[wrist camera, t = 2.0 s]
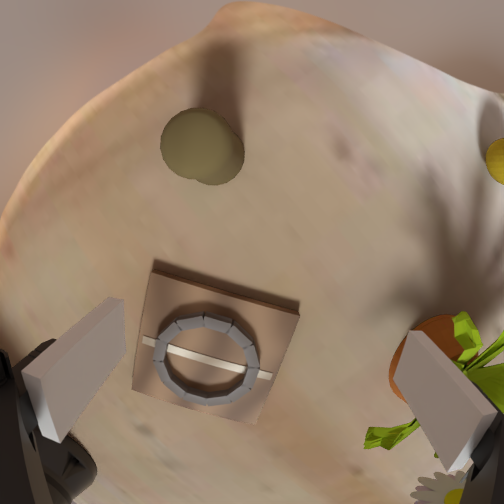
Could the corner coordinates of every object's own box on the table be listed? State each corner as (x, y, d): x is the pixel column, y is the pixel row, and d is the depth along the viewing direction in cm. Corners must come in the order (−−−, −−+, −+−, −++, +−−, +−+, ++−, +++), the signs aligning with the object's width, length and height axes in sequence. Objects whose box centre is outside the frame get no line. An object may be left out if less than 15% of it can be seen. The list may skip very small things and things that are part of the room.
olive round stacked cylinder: (212, 198, 31) (188, 204, 20) (172, 155, 30) (131, 141, 20) (257, 157, 30) (257, 141, 20) (216, 114, 30) (196, 79, 19)
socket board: (134, 384, 36) (128, 395, 34) (154, 269, 33) (146, 275, 30) (254, 419, 37) (254, 431, 34) (298, 311, 34) (301, 321, 31)
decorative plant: (328, 428, 37) (367, 589, 13) (370, 254, 32) (545, 381, 8) (476, 410, 37) (550, 506, 13) (526, 271, 32) (651, 332, 8)
